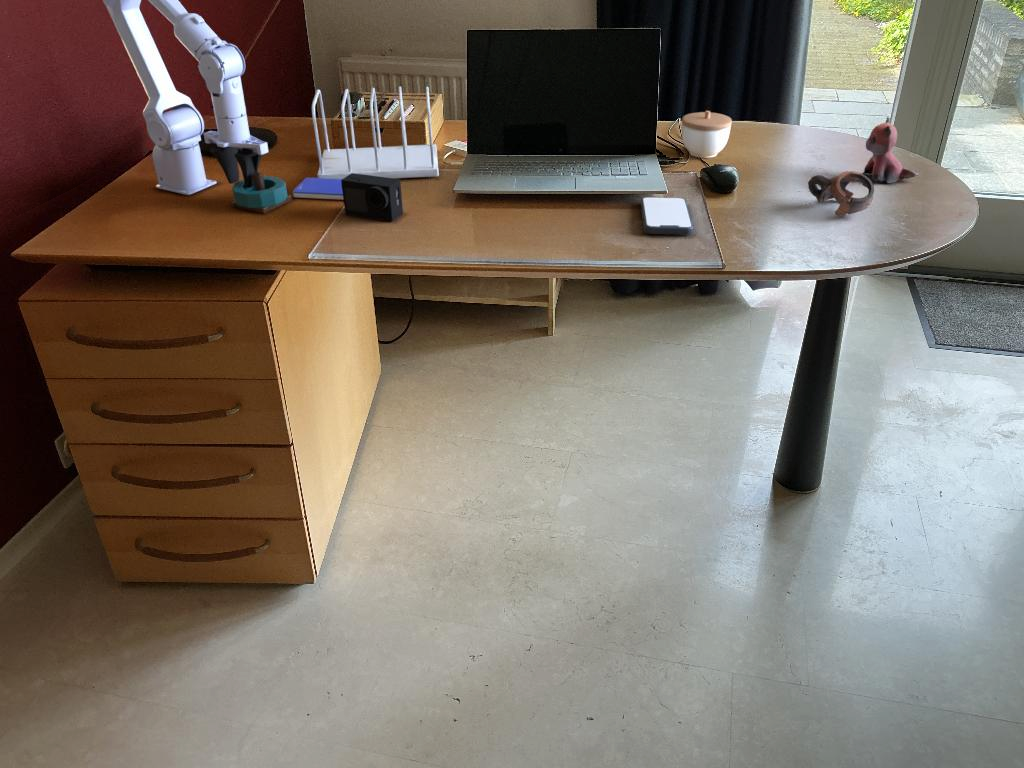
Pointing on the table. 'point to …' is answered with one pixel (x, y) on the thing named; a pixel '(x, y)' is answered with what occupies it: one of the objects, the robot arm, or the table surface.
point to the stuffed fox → (885, 155)
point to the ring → (260, 193)
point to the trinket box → (705, 133)
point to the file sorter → (375, 150)
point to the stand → (259, 186)
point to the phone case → (666, 216)
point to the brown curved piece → (841, 191)
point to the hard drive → (319, 189)
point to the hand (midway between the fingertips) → (242, 184)
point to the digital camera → (372, 197)
